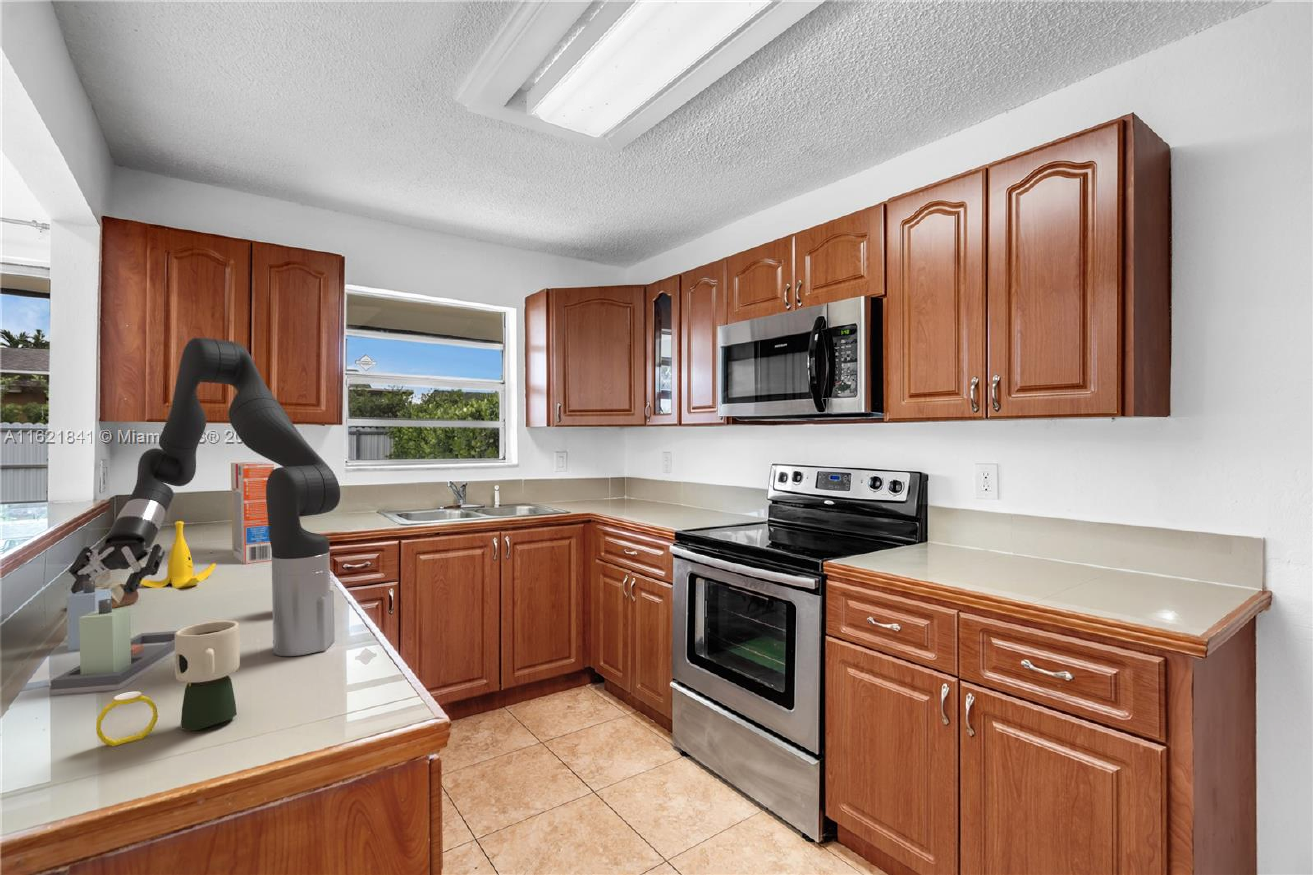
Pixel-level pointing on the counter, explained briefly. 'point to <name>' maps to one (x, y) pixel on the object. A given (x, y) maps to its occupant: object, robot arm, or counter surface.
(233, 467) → the pasta box
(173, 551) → the banana peel
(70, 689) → the grey rimmed tray
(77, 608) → the plug
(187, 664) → the character mug
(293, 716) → the counter surface
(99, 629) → the green knobbed block
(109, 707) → the watch
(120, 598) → the bread
